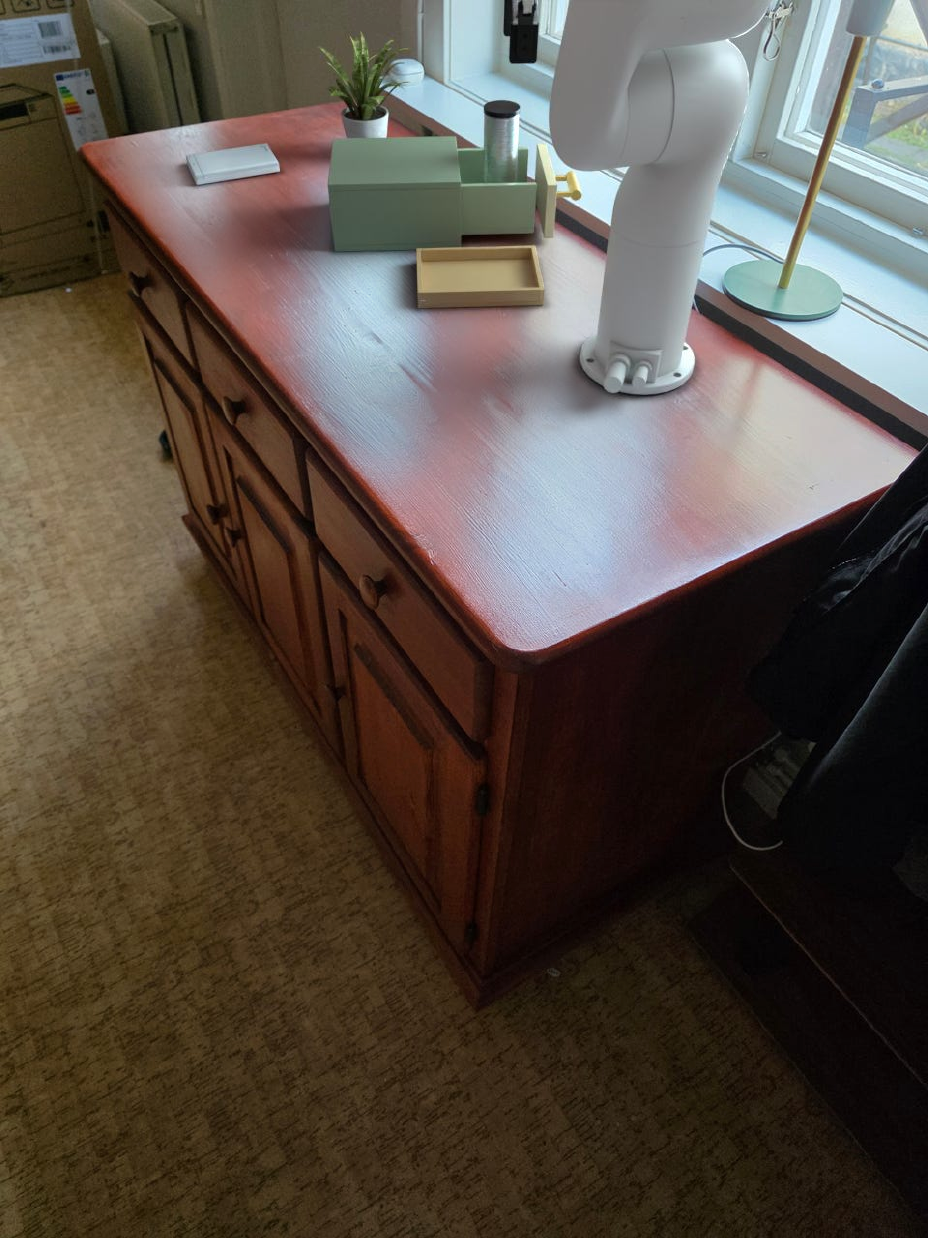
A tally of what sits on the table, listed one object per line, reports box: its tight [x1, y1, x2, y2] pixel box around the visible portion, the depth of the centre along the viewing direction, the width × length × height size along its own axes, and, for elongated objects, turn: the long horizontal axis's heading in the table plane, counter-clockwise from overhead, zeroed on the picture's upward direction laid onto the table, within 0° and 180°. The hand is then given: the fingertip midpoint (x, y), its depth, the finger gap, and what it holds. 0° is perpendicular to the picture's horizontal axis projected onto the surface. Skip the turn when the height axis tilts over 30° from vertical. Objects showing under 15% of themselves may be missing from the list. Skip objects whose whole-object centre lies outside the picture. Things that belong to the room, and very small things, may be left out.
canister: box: [483, 99, 521, 183], centre depth 116 cm, size 5×5×13 cm
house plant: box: [314, 31, 413, 138], centre depth 130 cm, size 14×14×16 cm
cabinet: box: [327, 135, 462, 253], centre depth 118 cm, size 17×15×9 cm
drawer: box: [457, 142, 583, 239], centre depth 119 cm, size 19×13×7 cm
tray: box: [415, 245, 546, 309], centre depth 110 cm, size 15×11×2 cm
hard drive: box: [185, 142, 281, 186], centre depth 133 cm, size 2×8×12 cm
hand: (519, 48), depth 107 cm, fingers open, 9 cm apart
